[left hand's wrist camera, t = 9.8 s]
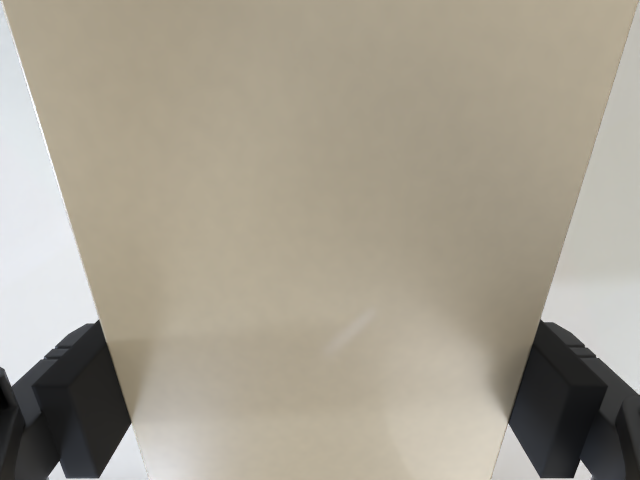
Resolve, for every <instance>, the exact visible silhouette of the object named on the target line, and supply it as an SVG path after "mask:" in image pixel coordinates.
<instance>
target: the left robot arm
mask: <svg viewBox="0 0 640 480" xmlns="http://www.w3.org/2000/svg"><path fill="white" fill-rule="evenodd" d="M508 423H509V425H510V427H511V429H512V430H513V432H514V434H515V435H516V437H517V439H518V440H519V442H520V444H521V446H522V447H523V449H524V451H525V452H526V454H527V456H528V458H529V459H530V461H531V463H532V464H533V466H534V468H535V469H536V471H537V473H538V475H539V476H540V478H574V475H575V473H576V470H577V467H578V465H579V462H580V459H581V460H582V462H583V463H584V465H585V466H586V467H587V469H588V470H589V471H590V473H591V474H592V478H591V480H640V395H638V394H637V393H636V392H635V391H634V390H633V389H632V388H631V387H630V386H629V385H628V384H626V383H625V382H624V381H623V380H622V379H621V378H620V377H619V376H618V375H617V374H616V373H614V372H613V371H612V370H611V369H610V368H609V367H608V366H607V365H606V364H605V363H604V362H602V361H601V360H600V359H599V358H596V355H595V354H594V353H593V352H592V351H591V350H589V349H588V348H585V345H584V344H583V343H582V342H581V341H580V340H579V339H577V338H576V337H575V336H574V335H573V334H572V333H571V332H569V331H567V330H565V329H564V328H562V327H560V326H558V325H557V324H555V323H553V322H543V321H542V320H541V319H540V322H539V325H538V328H537V331H536V334H535V338H534V341H533V344H532V347H531V351H530V354H529V357H528V360H527V364H526V367H525V370H524V373H523V377H522V380H521V383H520V386H519V390H518V393H517V396H516V399H515V402H514V406H513V409H512V412H511V415H510V419H509V422H508ZM130 424H131V420H130V417H129V413H128V410H127V407H126V404H125V401H124V397H123V394H122V391H121V388H120V384H119V381H118V378H117V375H116V372H115V368H114V365H113V362H112V359H111V355H110V352H109V349H108V346H107V343H106V339H105V336H104V333H103V330H102V326H101V323H100V320H98V321H97V322H96V323H95V324H85V325H84V326H82V327H80V328H78V329H77V330H75V331H73V332H71V333H70V334H68V335H67V336H66V337H65V338H64V339H63V340H62V341H61V342H60V343H58V344H57V345H56V346H55V349H52V350H51V351H50V352H49V353H48V354H47V355H45V356H44V359H43V360H40V361H39V362H38V363H37V364H36V365H35V366H34V367H32V368H31V369H30V370H29V371H28V372H27V373H26V374H25V375H24V376H23V377H22V378H21V379H20V380H18V381H17V382H16V383H15V384H14V385H13V386H12V387H11V385H10V382H9V380H8V377H7V375H6V372H5V370H4V369H3V368H1V367H0V480H49V478H48V476H49V474H50V473H51V472H52V470H53V469H54V467H55V466H56V465H57V463H58V462H59V461H60V463H61V466H62V469H63V471H64V474H65V477H66V478H99V477H100V476H101V474H102V472H103V471H104V469H105V467H106V465H107V464H108V462H109V460H110V459H111V457H112V455H113V453H114V452H115V450H116V448H117V447H118V445H119V443H120V442H121V440H122V438H123V436H124V435H125V433H126V431H127V430H128V428H129V426H130Z"/></svg>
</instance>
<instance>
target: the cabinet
mask: <svg viewBox="0 0 640 480" xmlns="http://www.w3.org/2000/svg"><path fill="white" fill-rule="evenodd" d="M0 1H1V4H2V7H3V11H4V14H5V17H6V20H7V24H8V27H9V30H10V33H11V36H12V40H13V43H14V46H15V49H16V53H17V56H18V59H19V62H20V65H21V69H22V72H23V75H24V78H25V82H26V85H27V88H28V91H29V94H30V98H31V101H32V104H33V107H34V111H35V114H36V117H37V120H38V123H39V127H40V130H41V133H42V136H43V140H44V143H45V146H46V149H47V152H48V156H49V159H50V162H51V165H52V169H53V172H54V175H55V178H56V181H57V185H58V188H59V191H60V194H61V198H62V201H63V204H64V207H65V210H66V214H67V217H68V220H69V223H70V227H71V230H72V233H73V236H74V239H75V243H76V246H77V249H78V252H79V256H80V259H81V262H82V265H83V268H84V272H85V275H86V278H87V281H88V285H89V288H90V291H91V294H92V297H93V301H94V304H95V307H96V310H97V314H98V317H99V320H100V323H101V326H102V330H103V333H104V336H105V339H106V343H107V346H108V349H109V352H110V355H111V359H112V362H113V365H114V368H115V372H116V375H117V378H118V381H119V384H120V388H121V391H122V394H123V397H124V401H125V404H126V407H127V410H128V413H129V417H130V420H131V423H132V426H133V430H134V433H135V436H136V439H137V442H138V446H139V449H140V452H141V455H142V459H143V462H144V465H145V468H146V471H147V475H148V478H149V480H491V477H492V474H493V470H494V467H495V464H496V461H497V458H498V454H499V451H500V448H501V445H502V441H503V438H504V435H505V432H506V428H507V425H508V422H509V419H510V415H511V412H512V409H513V406H514V402H515V399H516V396H517V393H518V390H519V386H520V383H521V380H522V377H523V373H524V370H525V367H526V364H527V360H528V357H529V354H530V351H531V347H532V344H533V341H534V338H535V334H536V331H537V328H538V325H539V322H540V318H541V315H542V312H543V309H544V305H545V302H546V299H547V296H548V292H549V289H550V286H551V283H552V279H553V276H554V273H555V270H556V266H557V263H558V260H559V257H560V254H561V250H562V247H563V244H564V241H565V237H566V234H567V231H568V228H569V224H570V221H571V218H572V215H573V211H574V208H575V205H576V202H577V199H578V195H579V192H580V189H581V186H582V182H583V179H584V176H585V173H586V169H587V166H588V163H589V160H590V156H591V153H592V150H593V147H594V143H595V140H596V137H597V134H598V131H599V127H600V124H601V121H602V118H603V114H604V111H605V108H606V105H607V101H608V98H609V95H610V92H611V88H612V85H613V82H614V79H615V75H616V72H617V69H618V66H619V63H620V59H621V56H622V53H623V50H624V46H625V43H626V40H627V37H628V33H629V30H630V27H631V24H632V20H633V17H634V14H635V11H636V7H637V4H638V1H639V0H0Z"/></svg>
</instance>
